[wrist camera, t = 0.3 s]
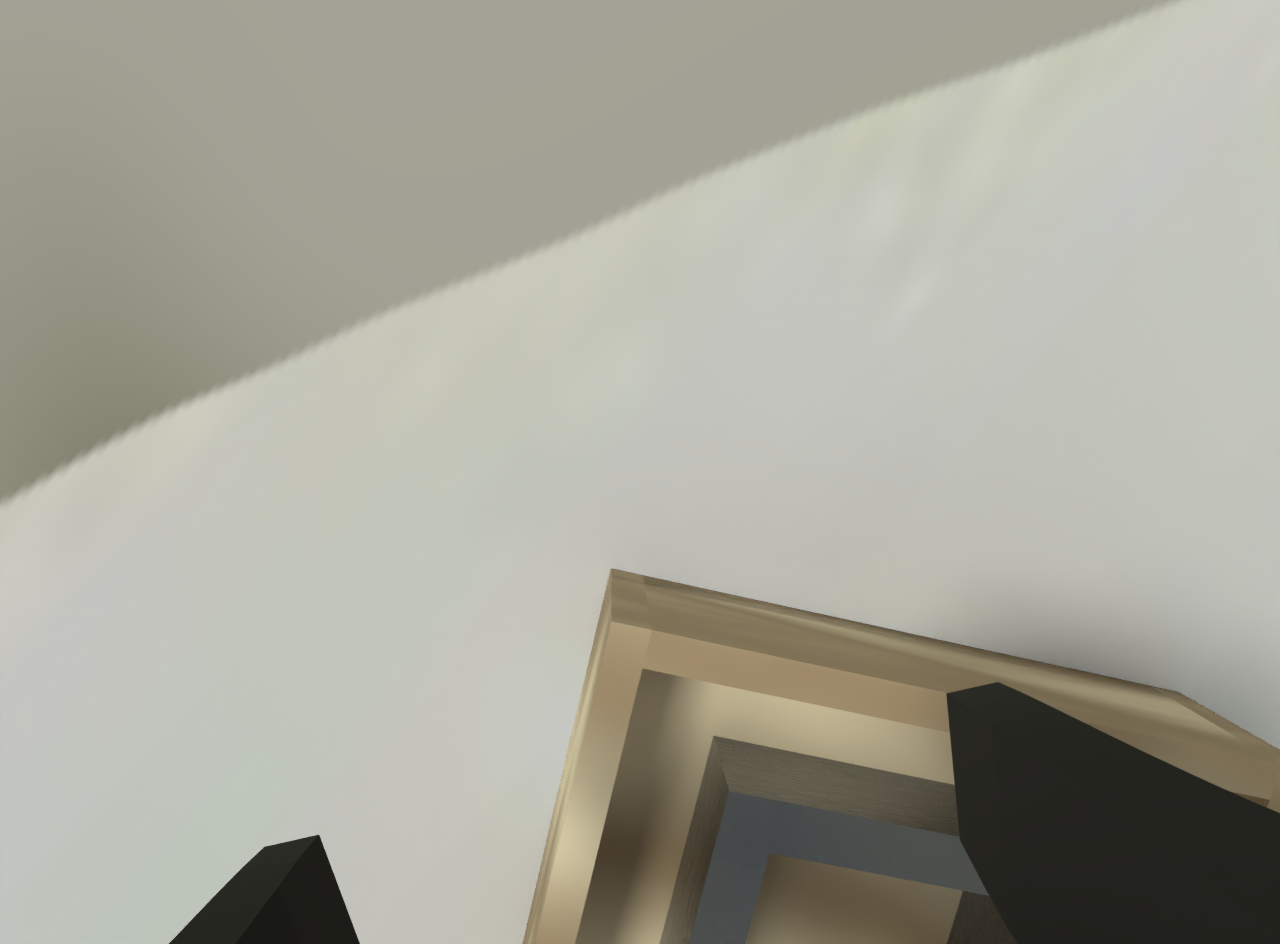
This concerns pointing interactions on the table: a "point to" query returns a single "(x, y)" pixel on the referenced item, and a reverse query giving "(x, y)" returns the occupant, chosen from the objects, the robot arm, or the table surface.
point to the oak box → (803, 723)
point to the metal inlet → (815, 838)
